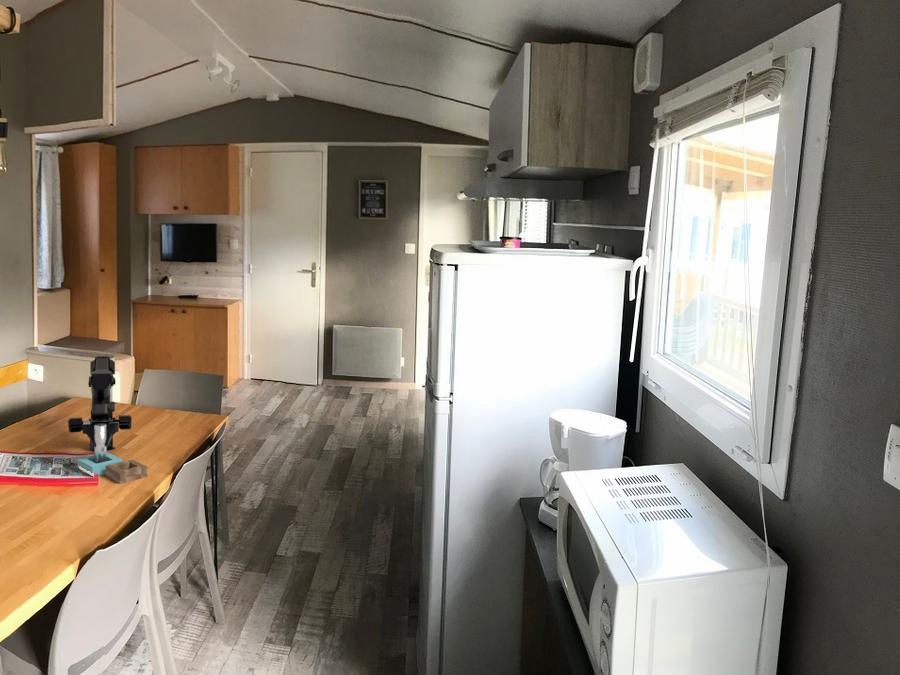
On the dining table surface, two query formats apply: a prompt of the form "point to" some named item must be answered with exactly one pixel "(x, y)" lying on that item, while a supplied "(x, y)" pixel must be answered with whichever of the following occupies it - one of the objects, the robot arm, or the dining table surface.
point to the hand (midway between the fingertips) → (100, 446)
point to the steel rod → (100, 443)
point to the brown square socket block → (126, 471)
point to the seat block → (98, 464)
